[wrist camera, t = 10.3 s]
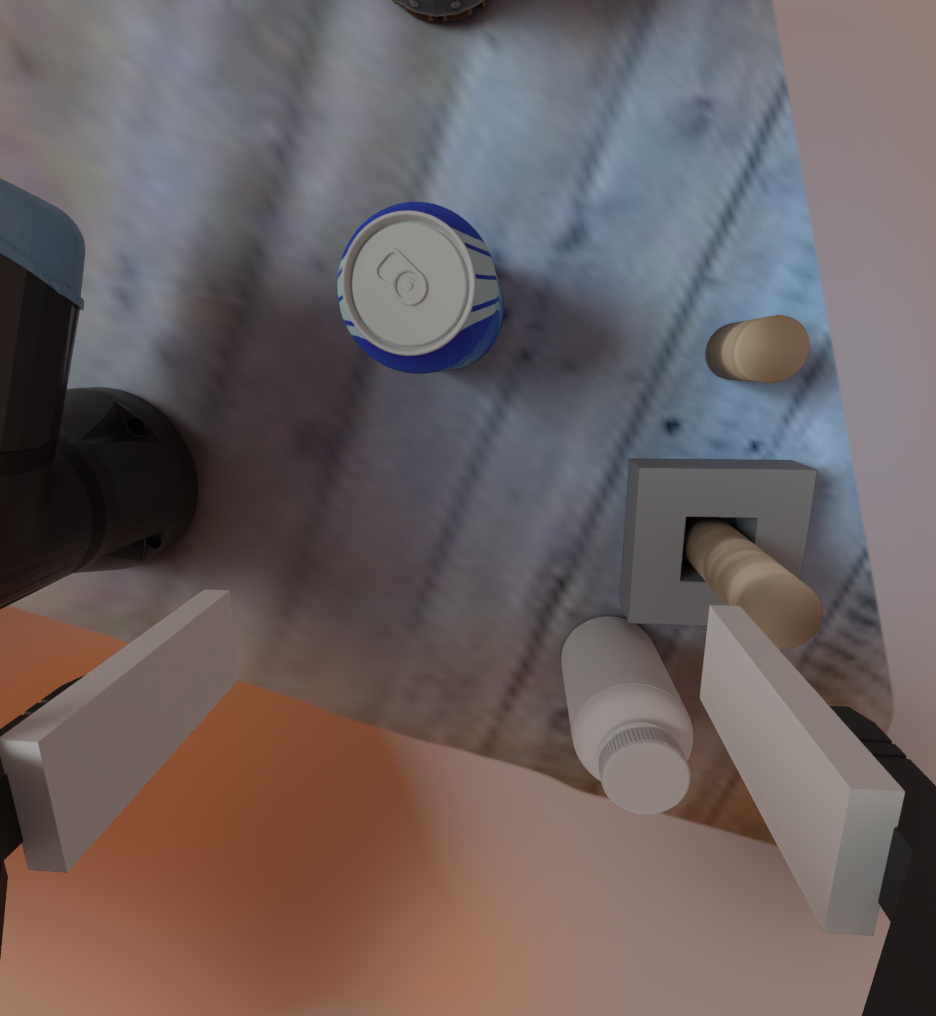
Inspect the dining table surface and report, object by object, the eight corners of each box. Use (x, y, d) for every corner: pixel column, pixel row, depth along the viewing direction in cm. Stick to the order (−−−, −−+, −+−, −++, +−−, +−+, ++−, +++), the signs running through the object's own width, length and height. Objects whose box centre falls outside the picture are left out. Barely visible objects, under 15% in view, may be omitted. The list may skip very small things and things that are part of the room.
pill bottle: (670, 675, 49) (734, 809, 34) (584, 709, 50) (609, 851, 36) (632, 597, 47) (681, 702, 33) (544, 635, 49) (554, 751, 34)
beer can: (497, 243, 41) (483, 173, 26) (510, 362, 43) (504, 363, 28) (385, 260, 42) (307, 203, 27) (402, 376, 44) (339, 384, 29)
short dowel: (703, 379, 42) (737, 382, 36) (708, 323, 41) (744, 315, 35) (758, 379, 42) (804, 382, 35) (765, 322, 41) (813, 314, 34)
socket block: (619, 601, 47) (628, 623, 43) (629, 458, 44) (639, 468, 40) (770, 606, 46) (793, 628, 42) (790, 460, 43) (817, 469, 39)
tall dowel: (676, 509, 45) (749, 580, 31) (728, 510, 45) (828, 582, 30) (671, 557, 46) (741, 647, 32) (723, 558, 46) (816, 650, 31)
